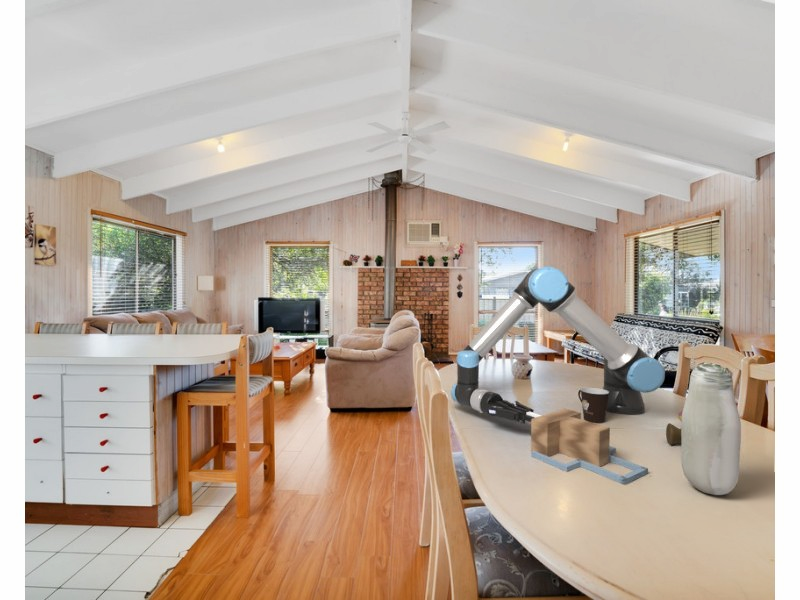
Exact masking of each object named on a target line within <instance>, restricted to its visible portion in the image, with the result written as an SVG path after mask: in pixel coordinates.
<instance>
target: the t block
mask: <svg viewBox="0 0 800 600" xmlns="http://www.w3.org/2000/svg"><path fill="white" fill-rule="evenodd" d="M530 424H531V425H530V428H531V429H530V431H531V432H530V437H531V438H530V439H531V440H530V452H532V451H536V452H538V453H541V454H543V455H546V456H548V457H550V458H551V457H552V456H555V455H557V454H562V455H565V456H567V457H569V458H570V457H571V458H572V459H575V460H578V459H581V460H583V461H586V462H588V463H591V464H593V465H596V466H598V467H601V468H602V467H603V466H605V465H607V464H610V461H609V446H610V444H611V443H610V442H611V441H610V439H611V438H610V435H611V433H610V431H611V428H610V426H605V425H601V424H600V423H591V422H588V421H585V420H584V419H582V413H581V412H580V411H576V410H571V409H567V408H562V409H560V410H559V409H558V410H555V411H552V412H549V413H546V414H543V415H542V416H539V417H536V418H533V419H531V423H530Z"/></svg>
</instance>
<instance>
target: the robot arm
mask: <svg viewBox="0 0 800 600" xmlns="http://www.w3.org/2000/svg"><path fill="white" fill-rule="evenodd" d="M576 290H577V288H576V287H575V286H574V285H573V284H572V283H571V282H570V281H569V279H568V278H567V276H566V274H565V273H564V272H563V271H562V270H560V269H558V268H557V267H553V266H543V267H539V268H534V269H532V270H531V271H529V272H528V273H527V274H526V275H525V277H524V278H523V279H522V281H521V282H520V283H519V284H518V286H517V287H516V288H515V289H514V290H513V291H512V296H511V297H510V298H509V300H508V301H506V303H505V304H504V305H503V306H502V307H501V308H500V309H499V310H498V312H496V314H495V315H493V317H492V318H491V319H490V320H489V321H488V323H486V324H485V325H484V327H482V329H481V330H480V331H479V332H478V333H477V334H476V335H475V336H474V338H472V340H471V341H470V342H469V343H468V344H467V345H466V346H465V347H464V348H463V350H460V351H458V352H457V356H456V358H455V360H456V369H457V370H456V371H457V372H456V373H457V379H456V383H454V384H453V386H452V389H451V390H450V397H451V400H452V401H454V403H456V404H459V405H460V406H463V407H467V408H469V409H472V410H474V411H477V412H479V413H480V414H485V415H487V416H490V417H496V418H497V417H498V418H501V419H506V420H509V421H514V422H520V421H521V424H526V422H527V423H529V424H531V419H533V418H536V417H539V416H542V415H541V414H538V413H536V412H534V409H533V408H531V407H529V406H527V405H524V404H522V403H520V402H519V401H518V400H516V401H514V402H510V401H508V400H505V399H503V397H502V396H501V395H500V394H499V393H496V392H493V391H490V390H487V389H484V388H480V387H479V385H480V384H479V383H480V382H479V379H480V378H479V372H480V367H479V366H480V362H481V361H482V360H483V359H484V357H486V355H487V354H488V353H489V352H490V351H491V350H492V349H493V348H494V347H495V346H496V345H497V344H498V343H499V342H500V340H501V339H502V338H503V337H504V336H505V335H506V334H507V333H508V332H509V331H510V330H511V328H513V326H514V325H515V324H516V323H517V322H518V321H519V320H520V319H521V318H522V317H523V316H524V315H525V313H526V312H528V310H533V309H534V308H535V307H536V306H538V305H539V304H540V305H542V307H543V308H544V309H545V310H547V311H548V313H556V314H557V315H558V316H559V317H561V319H563V320H564V321H565V322H566V323H567V324H568V325H569V326H570V327H571V328H573V330H574V331H575V332H576V333H578V335H580V336H581V337H582V339H584V340H585V341H586V342H587V343H588V344H589V345H590V346H592V348H593V349H595V350H596V351H597V353H599V354H600V355H601V356H602V357H603V386H602V389H604V390H607V391H609V396H608V403H607V410H606V412H610V413H611V412H612V413H615V414H623V415H640V414H644V413H645V411H646V405H645V403H644V400H643V397H642V393H645V394H646V393H647V394H648V393H651V392H654V391H656V390H658V389H659V388H660V387H661V386H662V385H663V383H664V381H665V377H666V375H665V374H666V371H665V367H664V366H663V364H662V363H661V362H660V361H658V359H655V358H653V357H650V356H649V355H648V354H647V353H646V352H645V351H644V350H643V349H641V348H640V346H638V345H637V344H636V343H628V342H627V341H626V340H625V339H624V338H623V337H621V335H620V334H618V333H617V332H616V331H615V330H614V329H613V328H612V327H611V326H610V325H608V323H606V321H605V320H603V319H602V318H601V316H599V315H598V314H597V313H596V312H595V311H594V310H593V309H592V308H591V307H590V306H588V305H587V304H586V303H585V301H583V300H582V299H581V298H580V297H579V296H578V295H577V294H576V292H577V291H576Z"/></svg>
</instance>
